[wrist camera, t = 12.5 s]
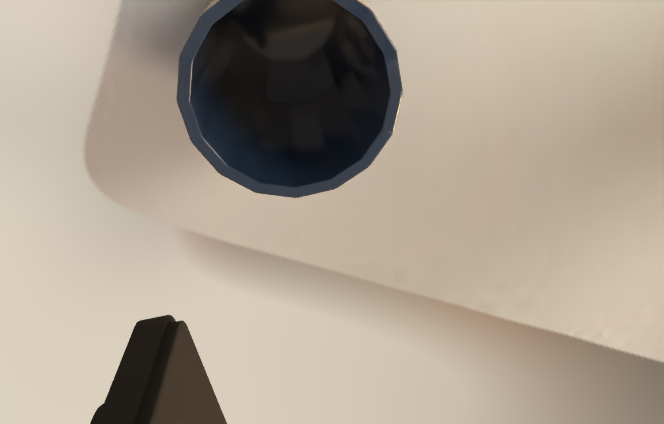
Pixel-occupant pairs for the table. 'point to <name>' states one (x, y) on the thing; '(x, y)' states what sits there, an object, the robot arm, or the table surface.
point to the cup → (289, 92)
